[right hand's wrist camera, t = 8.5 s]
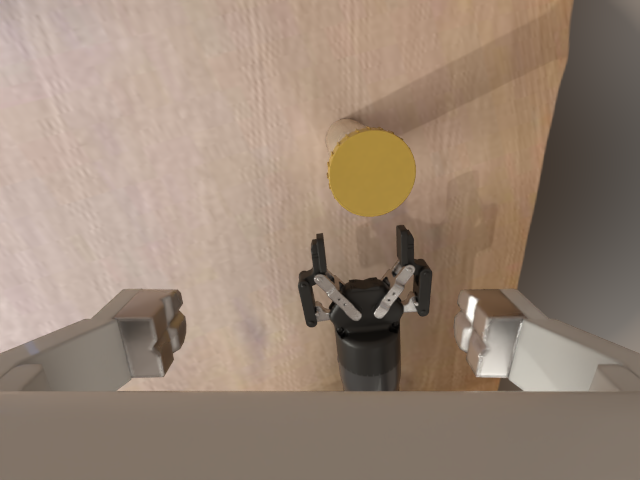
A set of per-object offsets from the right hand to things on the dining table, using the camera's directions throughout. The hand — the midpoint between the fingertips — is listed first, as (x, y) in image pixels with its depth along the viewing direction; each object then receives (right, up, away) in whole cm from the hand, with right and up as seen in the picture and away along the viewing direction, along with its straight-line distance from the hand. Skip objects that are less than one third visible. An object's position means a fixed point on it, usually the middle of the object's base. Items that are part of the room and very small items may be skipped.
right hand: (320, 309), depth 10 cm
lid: (+3, +6, +11) cm, 13 cm away
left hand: (+4, +3, +26) cm, 26 cm away
